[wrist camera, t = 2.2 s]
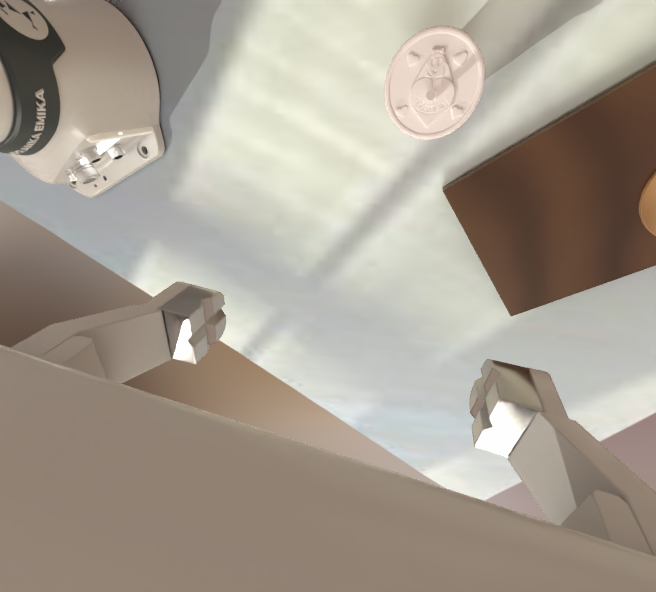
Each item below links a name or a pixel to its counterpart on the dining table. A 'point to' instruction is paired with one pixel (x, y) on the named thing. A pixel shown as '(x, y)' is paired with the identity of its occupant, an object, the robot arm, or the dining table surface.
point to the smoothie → (434, 82)
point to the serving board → (568, 200)
